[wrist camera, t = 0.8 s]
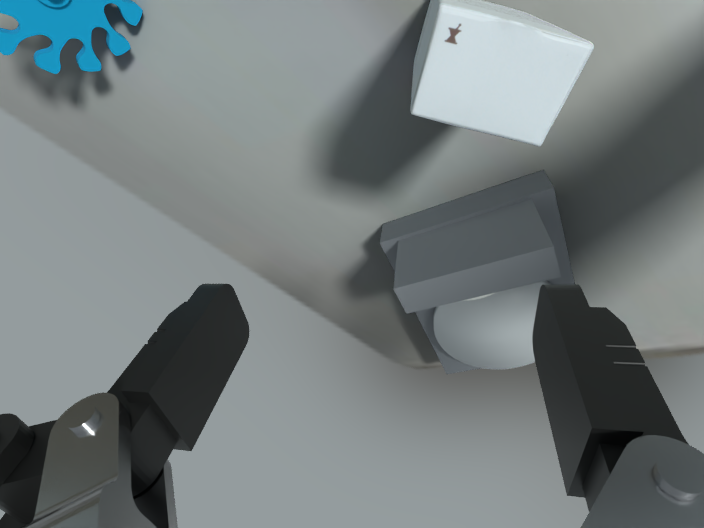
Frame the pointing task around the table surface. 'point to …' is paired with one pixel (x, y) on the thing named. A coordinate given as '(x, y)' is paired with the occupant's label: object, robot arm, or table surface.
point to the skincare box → (494, 69)
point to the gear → (65, 28)
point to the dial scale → (480, 270)
